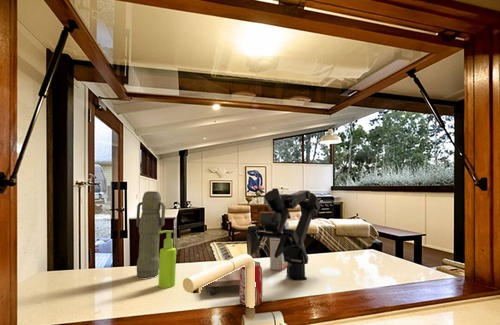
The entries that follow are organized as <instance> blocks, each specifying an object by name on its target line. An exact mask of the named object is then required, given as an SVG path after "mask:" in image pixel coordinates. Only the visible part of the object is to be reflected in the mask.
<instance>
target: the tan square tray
mask: <svg viewBox="0 0 500 325" xmlns="http://www.w3.org/2000/svg"><path fill="white" fill-rule="evenodd" d="M238 269H239V270H236V271H234V272H232V273H231V274H228V275H226V276H224V277H222V278H220V279H218V280H217V281H214V282H212V283H210V284H208V285H205V287H207V292H208V294H209V295H210V296H214V295H216V293H217V292H218V287H224V286H225V287H226V286H237V285H240V268H238Z"/></svg>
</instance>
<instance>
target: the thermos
mask: <svg viewBox="0 0 500 325" xmlns="http://www.w3.org/2000/svg"><path fill="white" fill-rule="evenodd" d="M161 197H162V196H161V194H160V192H158V191H152V190H151V191H145V192H144V194H143V196H142V201H141V202H138V204H137V205H136V221H135V222H136V224H135V226H136V227H137V228H138V234H139V245H138V246H139V247H138V256H137V257H138V258H137V260H136V278H137V277H138V278H137V279H140V278H148V277H154V278H156V277H155V276H157V275H158V274H159V261H160V235H161V233H158V232H160V231H162V228H163V227H164V226H165V218H166V205H165V203H164V202H162V201H161V200H162V198H161ZM158 276H159V275H158ZM158 276H157V277H158ZM148 279H149V278H148Z"/></svg>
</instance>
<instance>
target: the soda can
mask: <svg viewBox="0 0 500 325" xmlns="http://www.w3.org/2000/svg"><path fill="white" fill-rule="evenodd" d="M253 261H254V262H255V282H256V287H255V303H256V305H258V306H260V304H262V303H263V269H262V268H263V267H262V266H261V262H260V261H255V260H253ZM239 269H240V284H239V303H240V304H242V305H243V306H244V304H245V267H242V268H241V267H240V268H239Z"/></svg>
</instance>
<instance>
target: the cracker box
mask: <svg viewBox="0 0 500 325" xmlns="http://www.w3.org/2000/svg"><path fill="white" fill-rule="evenodd" d="M289 224H290V223H289V221H286V223H285V227H286V228H285V229H290V228H289ZM282 233H283V232H282ZM279 242H280V239H274V238H270V237H269V261H270V262H269V263H270V264H269V265H270V266H269V268H270V270H271V271H280V272H282V271H283V270H285V269H287V266H288V262H285V261H284V256H283V253H282V254H281V255H280V256H278V257H277V258H275V256H274V255H275V252H276V249H277V247H278V245H279Z"/></svg>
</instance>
